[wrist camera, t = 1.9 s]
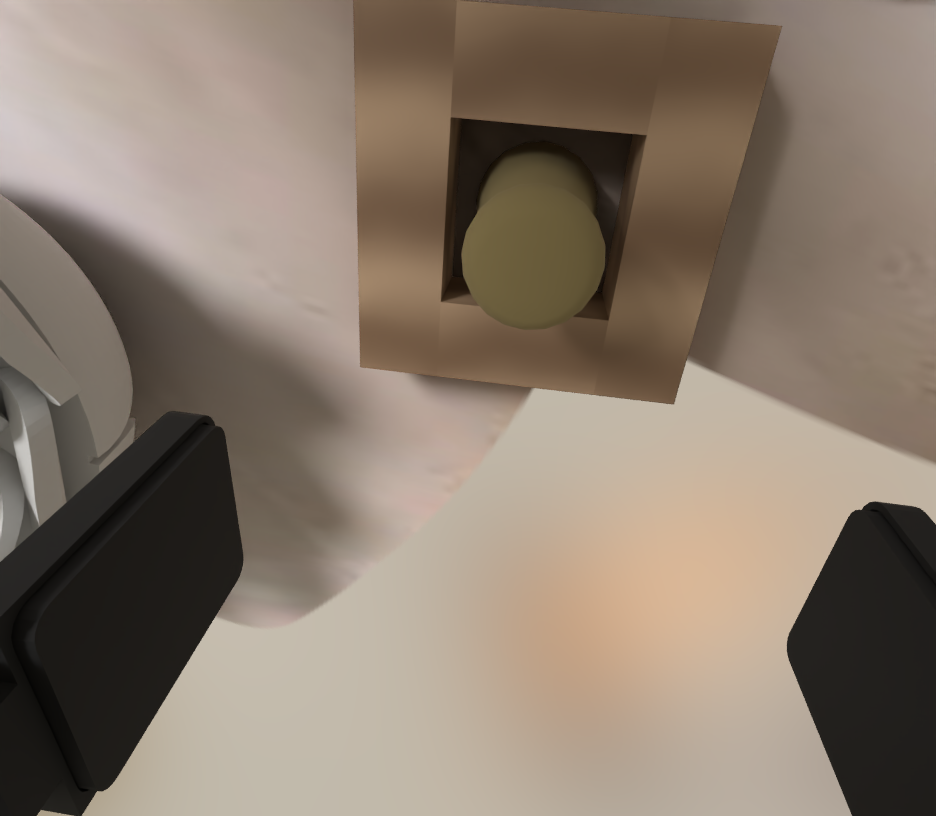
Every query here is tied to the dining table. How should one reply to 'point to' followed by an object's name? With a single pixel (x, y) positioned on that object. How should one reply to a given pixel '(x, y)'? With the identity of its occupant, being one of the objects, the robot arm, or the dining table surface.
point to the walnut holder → (558, 105)
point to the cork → (534, 238)
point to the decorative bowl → (53, 379)
